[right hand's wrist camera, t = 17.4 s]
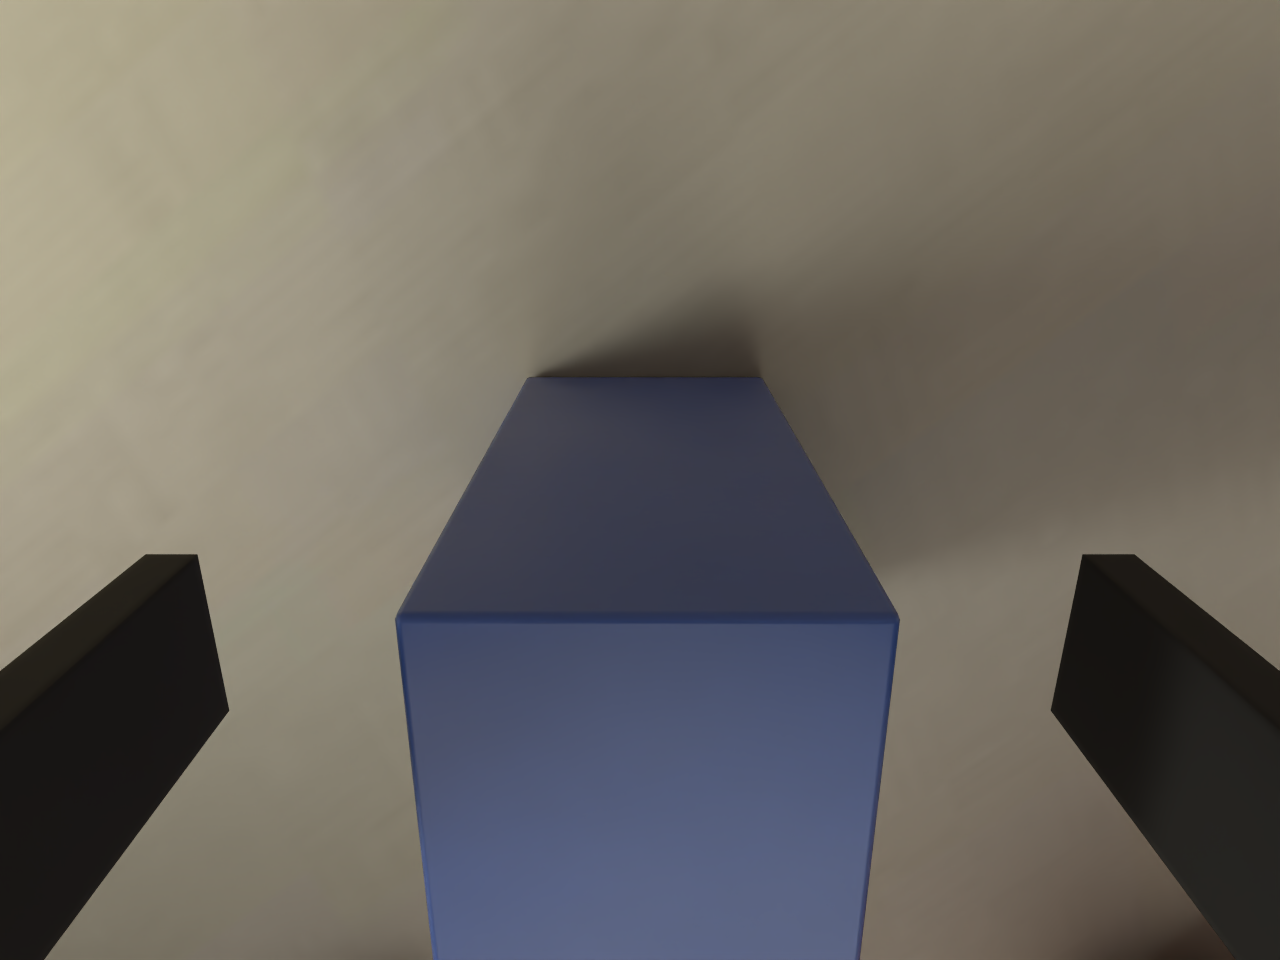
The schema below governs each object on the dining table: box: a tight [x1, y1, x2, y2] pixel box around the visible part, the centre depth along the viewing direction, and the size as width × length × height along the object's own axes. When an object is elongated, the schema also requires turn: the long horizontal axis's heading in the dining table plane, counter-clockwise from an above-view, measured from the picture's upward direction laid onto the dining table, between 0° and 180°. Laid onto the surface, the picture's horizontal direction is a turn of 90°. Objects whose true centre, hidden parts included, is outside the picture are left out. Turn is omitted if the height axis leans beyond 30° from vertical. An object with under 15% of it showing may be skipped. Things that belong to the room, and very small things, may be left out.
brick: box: [395, 377, 900, 960], centre depth 14 cm, size 5×6×10 cm
